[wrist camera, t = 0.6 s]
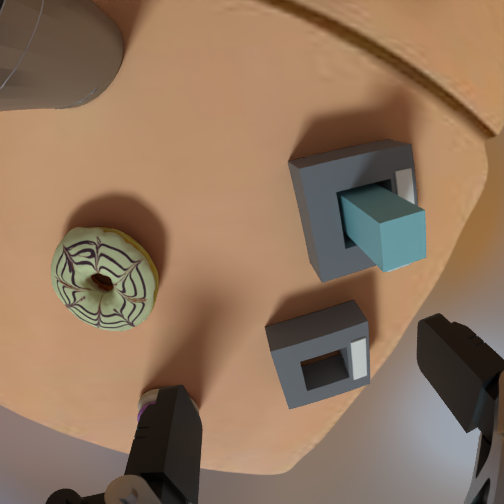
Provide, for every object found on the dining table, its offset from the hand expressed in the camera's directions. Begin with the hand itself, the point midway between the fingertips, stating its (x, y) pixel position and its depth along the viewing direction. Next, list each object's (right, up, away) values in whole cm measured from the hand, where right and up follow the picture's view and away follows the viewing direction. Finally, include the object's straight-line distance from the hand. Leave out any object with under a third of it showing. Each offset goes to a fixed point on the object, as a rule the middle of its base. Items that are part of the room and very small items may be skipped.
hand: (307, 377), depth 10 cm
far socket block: (+6, -7, +26) cm, 27 cm away
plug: (+7, +9, +19) cm, 22 cm away
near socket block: (+7, +9, +19) cm, 22 cm away
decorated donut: (-16, +2, +20) cm, 25 cm away
